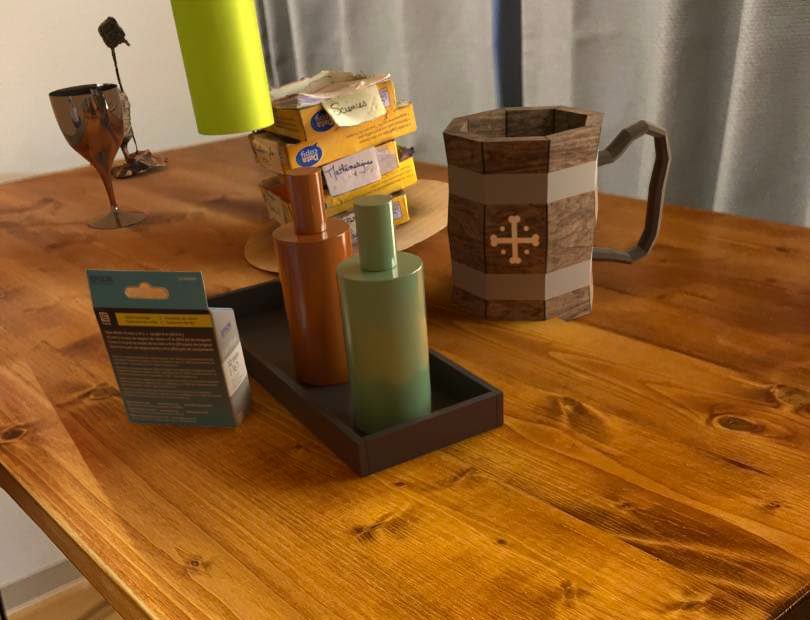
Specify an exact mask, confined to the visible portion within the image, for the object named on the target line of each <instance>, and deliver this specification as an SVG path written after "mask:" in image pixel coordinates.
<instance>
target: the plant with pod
mask: <svg viewBox="0 0 810 620" xmlns="http://www.w3.org/2000/svg"><path fill="white" fill-rule="evenodd" d="M97 32H98V34H99V36H100V37H101V39H102V41H103V43H104V45H105V46H106V47H107V48H108V49H110V53H111V57H112V61H113V64H114V65H113V66H114V67H115V68H114V70H115V75H116V80H117V82H118V83H117V84H118V86H119V87H118V89H119V93H120V98H121V103H122V108H123V115H124V138H123V141H122V144H121V146H120V148H119V149H121V153H122V154H123V157H124V161H125V163H123V164H121V165H114V166H112V169H111V177H112V178H123V177H127V176H131V177H132V176H133V175H134V176H135V175H137V174H140V173H143V172H144V173H145V172H147V171H148V170H150V169H152V168H156V167H168V165H169V163H168V159H169V157H166V158H162V157H157V156H155V155H152V151H151V150H150V149H149V148H148V149H144V150H139V149H138V146H137V141H136V138H135V134H134V133H135V132H134V128H133V127H132V120H131V119H132V117H131V102H130V101H129V100H130V99H129V97H128V95H127V93H126V92H125V90H124V87H123V85H122V81H121V77H120V73H119V68H118V61H117V55H116V48H118V46H119V45H122V44H125V45H126V46H127V47H131V43H130V42H129V41H128V39H127V38H126V33H125V31H124V29H123V28H122V26H121V25H120V24H119V23H118V21H117V19H116V18H115V17H113V16H111V15H110V16H107V17H106V18H105V19H104V20H103V21H102V22H100V24H99V25H98V27H97ZM131 140H133V143H134V145H135V151H134V152H130V151H129V149H128V146H129V142H131ZM89 166H92V167H93V165H92V164H91V163H90V162H89Z"/></svg>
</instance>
